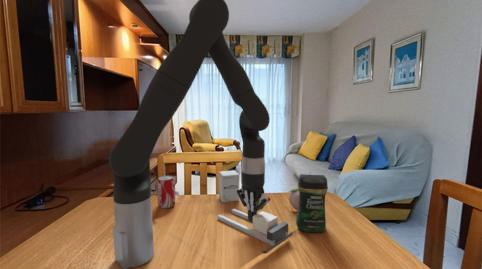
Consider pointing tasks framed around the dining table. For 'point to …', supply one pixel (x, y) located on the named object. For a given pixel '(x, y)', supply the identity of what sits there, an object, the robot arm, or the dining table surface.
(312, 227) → the coffee jar
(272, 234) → the grey slide rail
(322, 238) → the dining table surface
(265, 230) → the block
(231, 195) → the supplement box
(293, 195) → the decorative fruit
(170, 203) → the soda can
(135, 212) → the robot arm
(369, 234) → the dining table surface
